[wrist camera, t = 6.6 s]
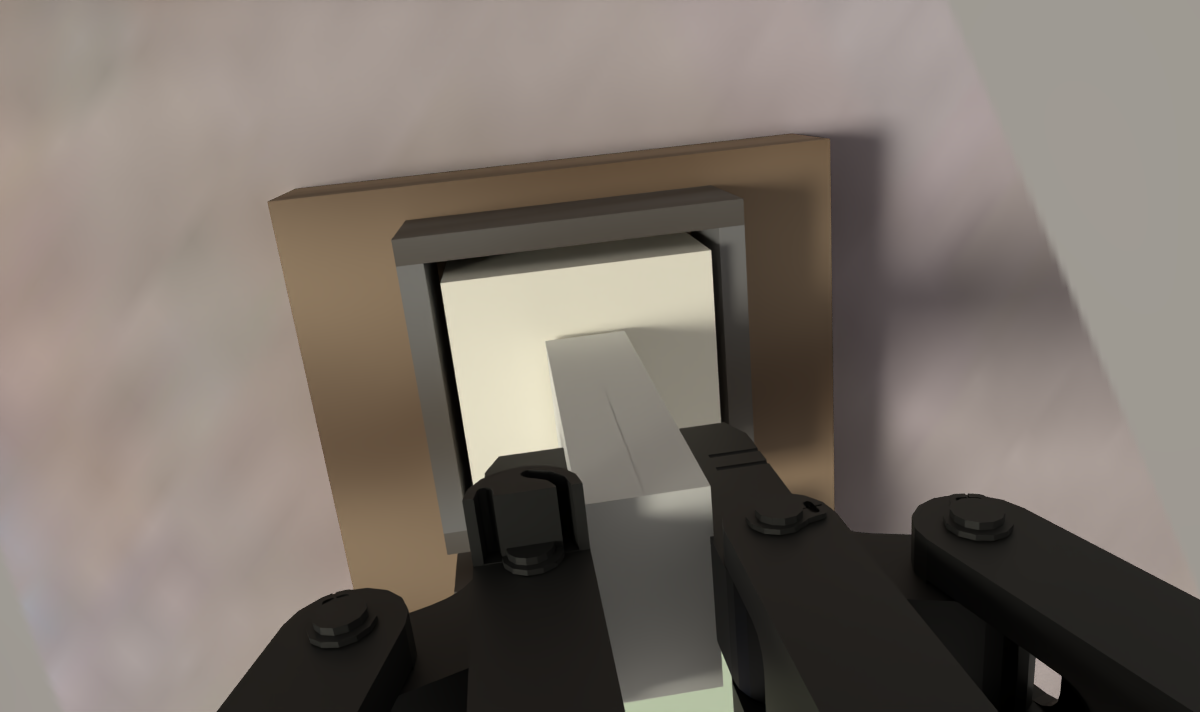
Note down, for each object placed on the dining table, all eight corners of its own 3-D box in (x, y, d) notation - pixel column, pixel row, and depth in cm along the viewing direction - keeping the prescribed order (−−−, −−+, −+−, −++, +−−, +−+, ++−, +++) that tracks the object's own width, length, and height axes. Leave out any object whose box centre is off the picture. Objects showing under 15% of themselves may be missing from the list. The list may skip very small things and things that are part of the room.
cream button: (447, 257, 17) (440, 283, 15) (682, 229, 18) (711, 250, 15) (481, 473, 19) (479, 527, 16) (697, 442, 19) (724, 491, 17)
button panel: (295, 188, 19) (230, 218, 15) (791, 133, 20) (880, 145, 16) (447, 911, 26) (437, 1089, 22) (809, 844, 28) (874, 1000, 23)
